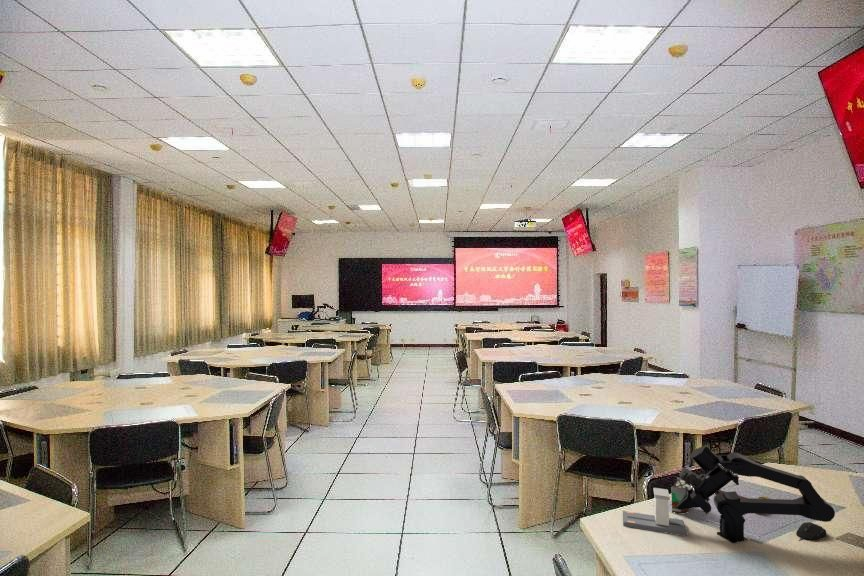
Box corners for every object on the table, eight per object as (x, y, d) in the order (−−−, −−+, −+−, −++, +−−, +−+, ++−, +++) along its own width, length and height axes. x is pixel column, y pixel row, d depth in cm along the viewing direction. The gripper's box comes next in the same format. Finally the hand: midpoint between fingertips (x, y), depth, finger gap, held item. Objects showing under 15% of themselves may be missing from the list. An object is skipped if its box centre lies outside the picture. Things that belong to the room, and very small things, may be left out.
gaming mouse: (787, 538, 159) (787, 526, 159) (808, 527, 166) (808, 516, 166) (809, 546, 153) (809, 534, 153) (830, 535, 160) (830, 523, 160)
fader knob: (667, 518, 168) (667, 489, 168) (669, 526, 162) (669, 496, 162) (653, 516, 170) (653, 487, 170) (655, 524, 164) (655, 494, 164)
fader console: (683, 524, 167) (683, 519, 167) (687, 536, 159) (687, 531, 159) (622, 514, 175) (622, 510, 175) (623, 525, 166) (623, 521, 166)
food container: (689, 518, 172) (689, 490, 172) (671, 513, 176) (671, 486, 176) (695, 506, 182) (694, 480, 182) (677, 502, 185) (677, 476, 185)
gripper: (690, 453, 171) (657, 479, 175) (699, 471, 154) (662, 500, 158) (715, 478, 168) (680, 504, 172) (727, 499, 151) (689, 528, 155)
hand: (677, 508), depth 164 cm, fingers closed
